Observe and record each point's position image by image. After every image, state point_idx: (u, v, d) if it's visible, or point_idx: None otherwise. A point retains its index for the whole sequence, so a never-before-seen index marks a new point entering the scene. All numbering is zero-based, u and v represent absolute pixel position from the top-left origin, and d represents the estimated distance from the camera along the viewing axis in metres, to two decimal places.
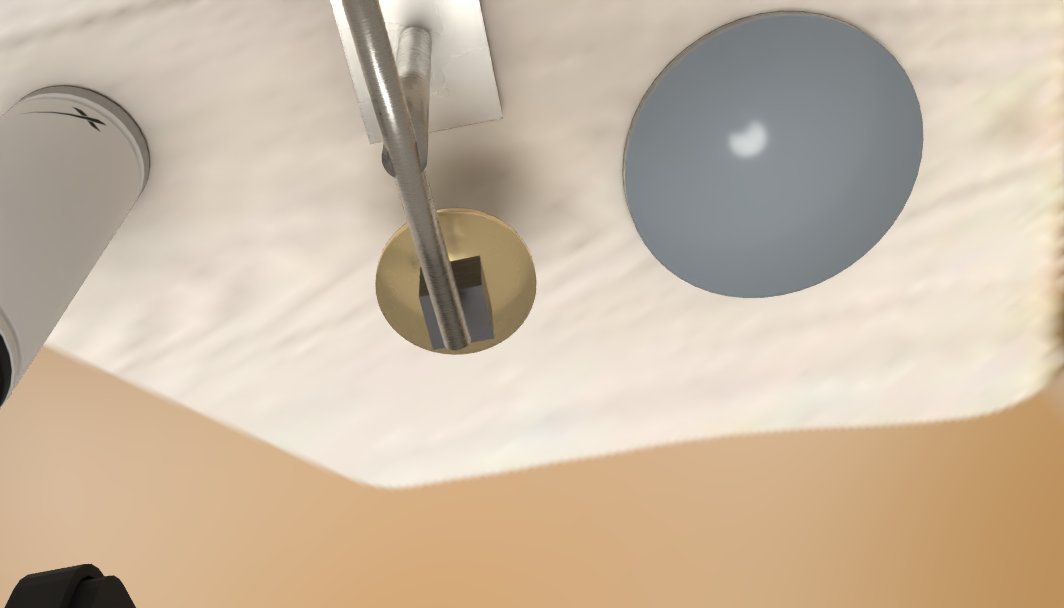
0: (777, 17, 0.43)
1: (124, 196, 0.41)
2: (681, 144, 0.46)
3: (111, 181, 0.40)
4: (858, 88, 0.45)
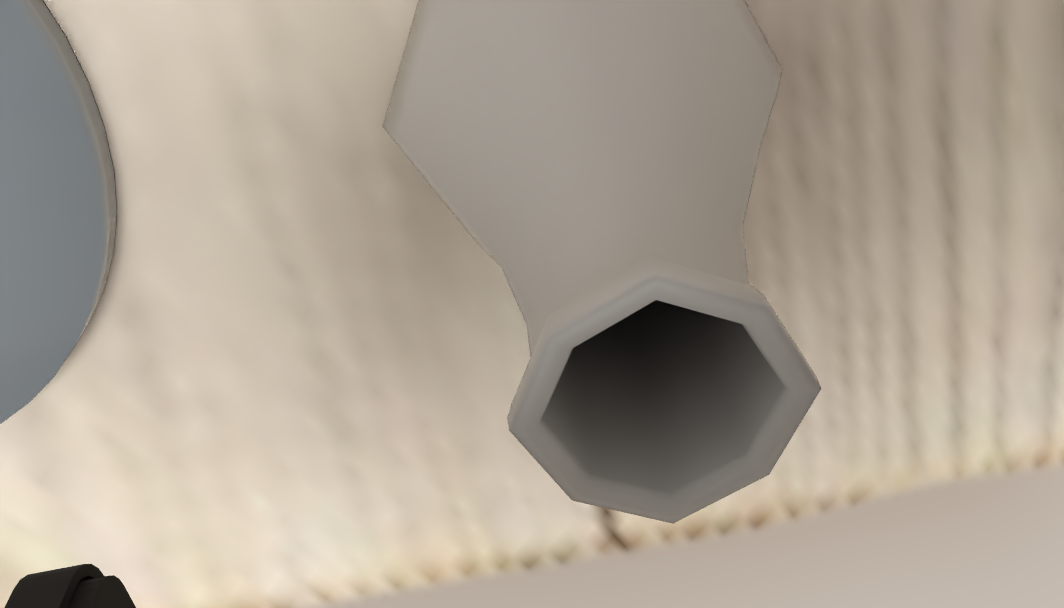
0: (83, 125, 0.18)
1: None
2: None
3: None
4: None
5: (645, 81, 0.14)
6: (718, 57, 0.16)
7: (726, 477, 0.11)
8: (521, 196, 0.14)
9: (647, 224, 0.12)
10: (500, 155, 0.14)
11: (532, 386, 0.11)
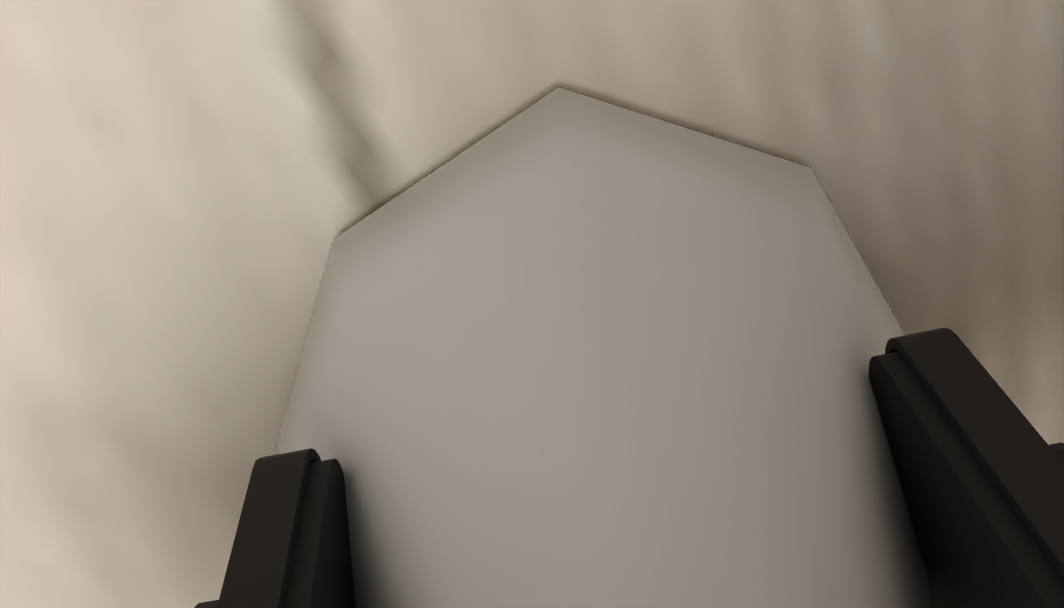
0: None
1: None
2: None
3: None
4: None
5: (749, 556, 0.07)
6: (856, 424, 0.09)
7: None
8: None
9: None
10: None
11: None
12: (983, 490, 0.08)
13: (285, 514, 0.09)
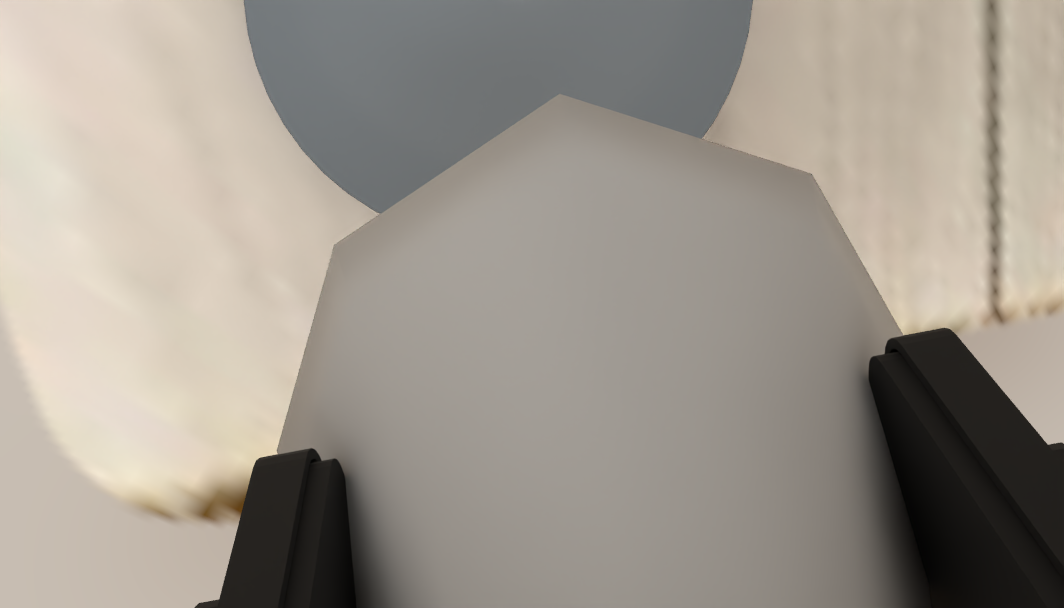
0: None
1: None
2: None
3: None
4: None
5: (750, 565, 0.07)
6: (857, 431, 0.09)
7: None
8: None
9: None
10: None
11: None
12: (983, 490, 0.08)
13: (286, 514, 0.09)
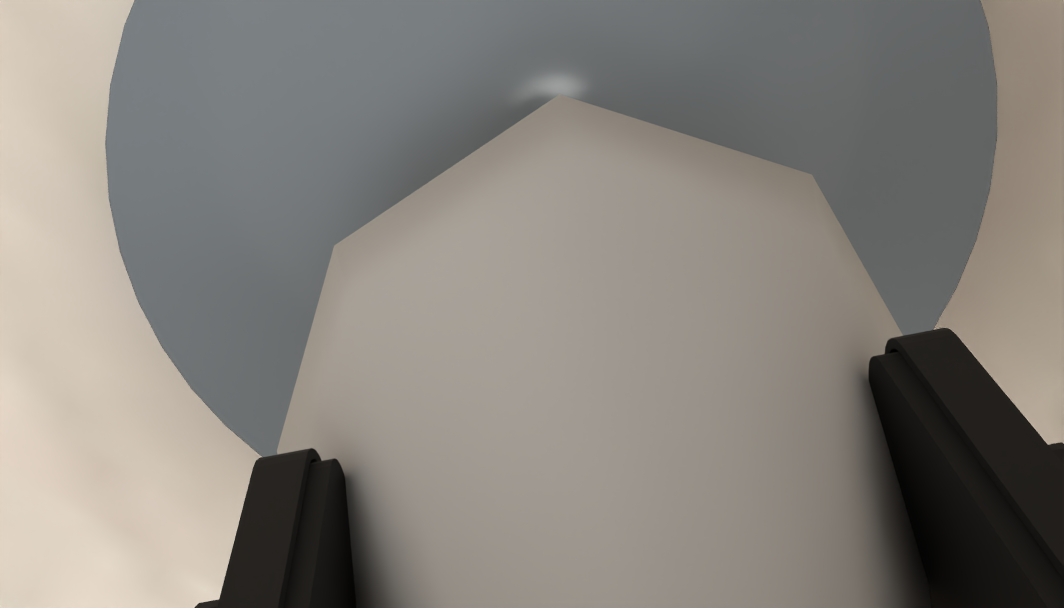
0: (987, 164, 0.16)
1: None
2: None
3: None
4: None
5: (750, 567, 0.07)
6: (857, 432, 0.09)
7: None
8: None
9: None
10: None
11: None
12: (983, 490, 0.08)
13: (285, 514, 0.09)
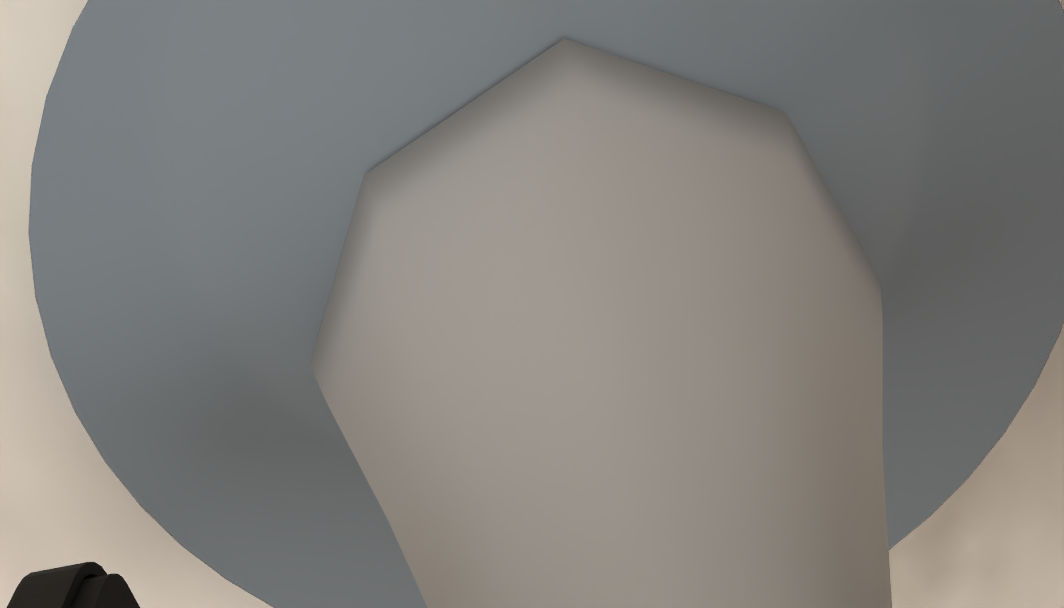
0: None
1: None
2: None
3: None
4: None
5: (724, 412, 0.08)
6: (820, 323, 0.10)
7: None
8: None
9: None
10: (481, 526, 0.09)
11: None
12: None
13: None
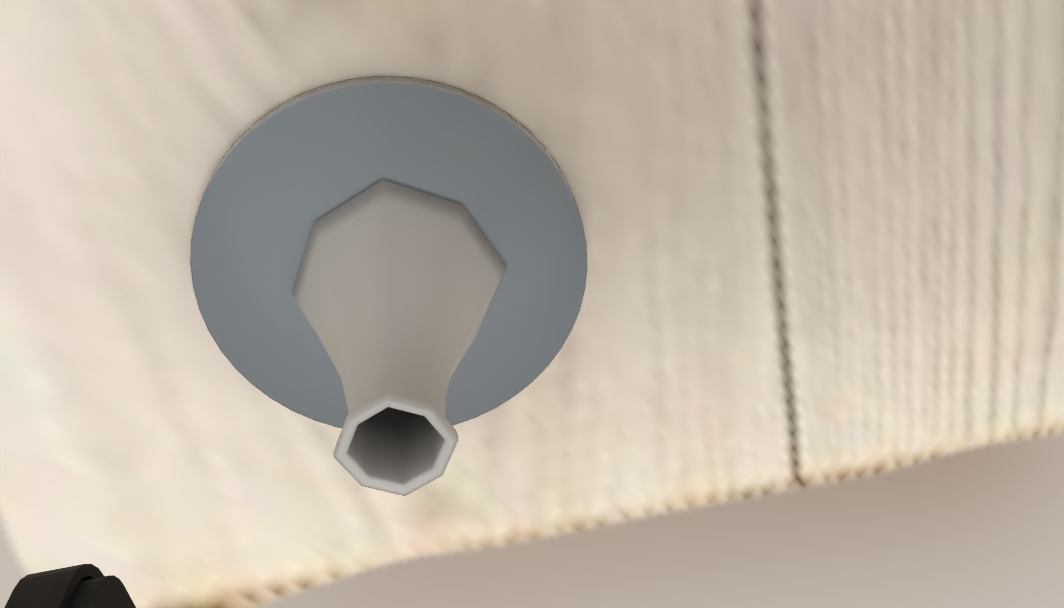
0: (585, 254, 0.36)
1: None
2: (428, 158, 0.34)
3: None
4: (495, 353, 0.38)
5: (410, 295, 0.31)
6: (455, 275, 0.32)
7: (425, 476, 0.28)
8: (350, 350, 0.30)
9: (396, 370, 0.28)
10: (344, 327, 0.31)
11: (342, 439, 0.27)
12: None
13: None
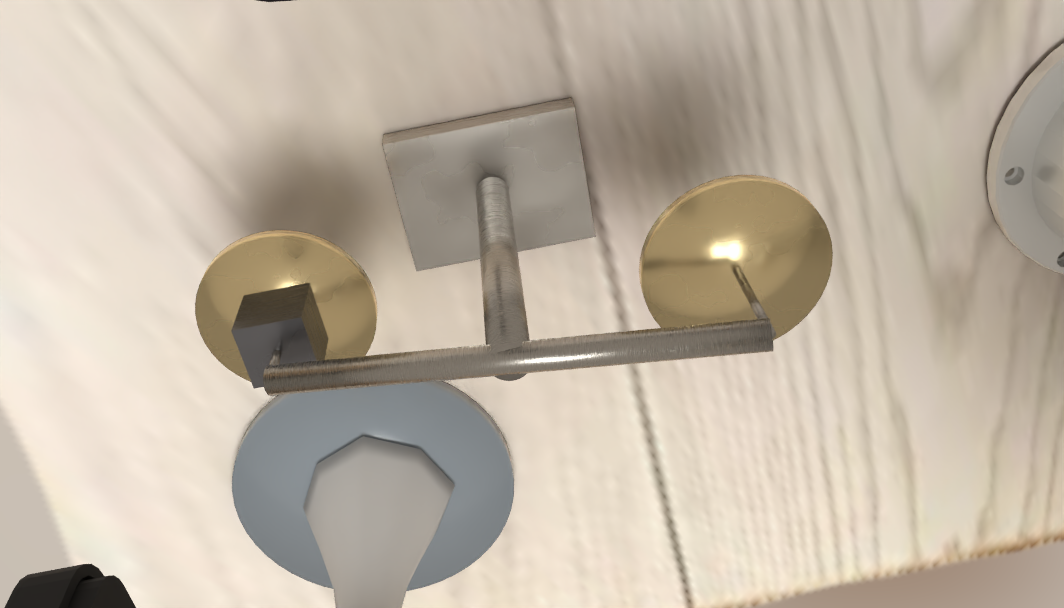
0: (512, 473, 0.50)
1: None
2: (394, 420, 0.48)
3: None
4: (452, 539, 0.52)
5: (379, 531, 0.45)
6: (412, 508, 0.47)
7: None
8: (339, 573, 0.44)
9: (367, 595, 0.43)
10: (335, 552, 0.45)
11: None
12: None
13: None
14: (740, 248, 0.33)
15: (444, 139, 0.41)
